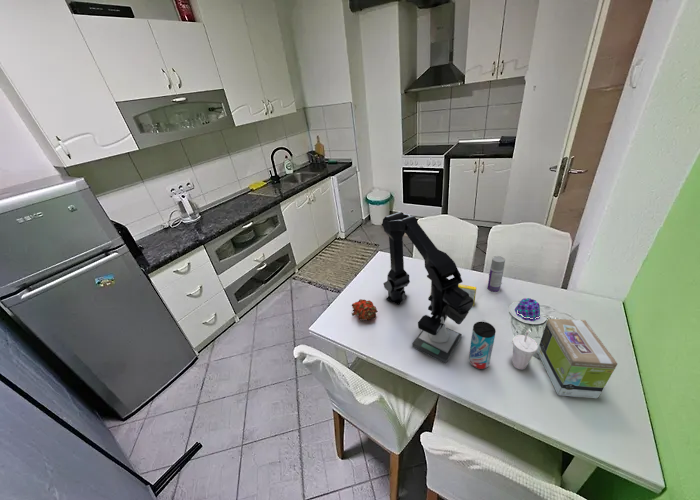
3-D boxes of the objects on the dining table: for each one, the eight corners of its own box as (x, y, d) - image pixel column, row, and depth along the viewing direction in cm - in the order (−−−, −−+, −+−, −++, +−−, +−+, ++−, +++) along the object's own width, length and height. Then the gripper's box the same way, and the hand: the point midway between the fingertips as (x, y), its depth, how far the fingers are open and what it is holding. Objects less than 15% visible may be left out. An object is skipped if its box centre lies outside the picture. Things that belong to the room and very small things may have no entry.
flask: (450, 344, 92) (452, 322, 87) (428, 342, 94) (428, 321, 88) (448, 327, 98) (450, 306, 93) (427, 326, 100) (427, 306, 94)
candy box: (474, 303, 110) (476, 286, 106) (474, 306, 108) (476, 290, 104) (433, 294, 117) (433, 278, 113) (432, 297, 116) (432, 282, 111)
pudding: (526, 298, 108) (529, 288, 105) (555, 319, 98) (558, 308, 95) (501, 308, 106) (503, 297, 103) (527, 330, 96) (530, 319, 93)
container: (488, 284, 118) (493, 254, 110) (501, 287, 115) (506, 257, 108) (486, 290, 115) (490, 260, 107) (498, 293, 112) (504, 263, 105)
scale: (412, 347, 96) (412, 342, 95) (429, 323, 104) (429, 318, 103) (445, 364, 89) (446, 359, 87) (461, 337, 97) (462, 332, 95)
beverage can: (466, 354, 91) (470, 322, 83) (484, 353, 90) (490, 320, 82) (472, 370, 86) (477, 337, 78) (492, 369, 85) (499, 336, 77)
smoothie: (529, 357, 87) (538, 326, 80) (533, 375, 82) (544, 343, 75) (506, 353, 89) (513, 322, 82) (508, 370, 84) (517, 339, 77)
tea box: (599, 399, 74) (620, 364, 66) (557, 396, 76) (572, 361, 68) (571, 352, 86) (586, 318, 79) (535, 350, 89) (546, 317, 81)
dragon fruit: (377, 327, 107) (355, 318, 116) (385, 307, 109) (363, 299, 118) (365, 322, 102) (343, 312, 110) (374, 300, 104) (351, 292, 112)
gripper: (453, 323, 76) (450, 360, 84) (477, 286, 87) (472, 321, 95) (416, 308, 82) (417, 343, 90) (443, 275, 94) (441, 309, 102)
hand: (438, 329), depth 94 cm, fingers closed on flask, 5 cm apart
